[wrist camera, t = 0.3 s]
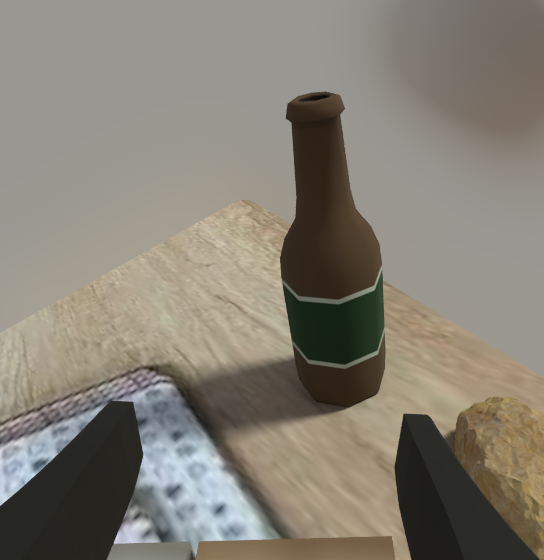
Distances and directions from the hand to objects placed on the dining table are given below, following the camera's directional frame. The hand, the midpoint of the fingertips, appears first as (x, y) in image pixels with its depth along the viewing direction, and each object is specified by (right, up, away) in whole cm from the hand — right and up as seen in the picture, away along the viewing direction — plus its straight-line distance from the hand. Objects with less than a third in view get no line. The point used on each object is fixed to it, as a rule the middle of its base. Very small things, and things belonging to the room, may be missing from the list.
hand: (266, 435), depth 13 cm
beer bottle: (+6, -5, +30) cm, 31 cm away
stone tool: (+16, -10, +19) cm, 26 cm away
